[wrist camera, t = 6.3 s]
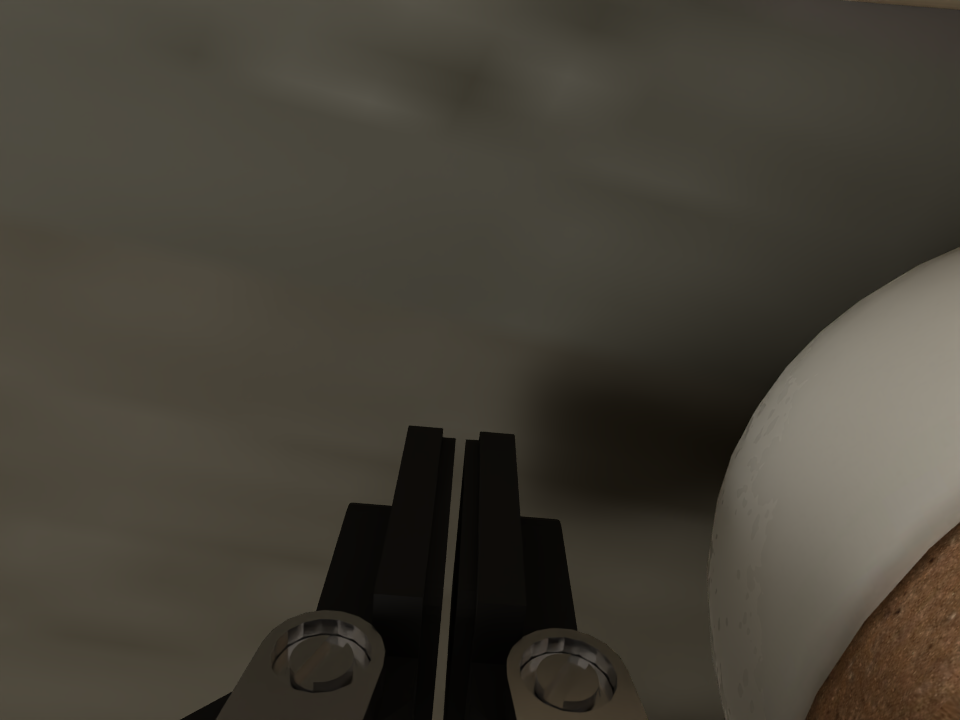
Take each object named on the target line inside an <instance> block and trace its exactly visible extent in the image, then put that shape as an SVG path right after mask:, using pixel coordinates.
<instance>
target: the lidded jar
mask: <svg viewBox="0 0 960 720" xmlns="http://www.w3.org/2000/svg"><path fill="white" fill-rule="evenodd" d="M707 590H708V613H709V625H710V637H711V648H712V660H713V664H714V669H715V674H716V678H717V683H718V688H719V692H720V697H721V702H722V706H723V711H724V715H725V720H960V247H958V248H956V249H954V250H952V251H949V252H947V253H945V254H943V255H940V256H938V257H936V258H934V259H931V260H929V261H927V262H924V263H922V264H920V265H918V266H916V267H914V268H913V269H911V270H909V271H908V272H906V273H905V274H903V275H901V276H900V277H898V278H896V279H895V280H893V281H891V282H890V283H888V284H886V285H885V286H883V287H881V288H880V289H878V290H876V291H875V292H873V293H871V294H870V295H868V296H866V297H865V298H863V299H862V300H860V301H858V302H857V303H856V304H855V305H853V306H852V307H851V308H850V309H848V310H847V311H846V312H845V313H843V314H842V315H841V316H840V317H838V318H837V319H836V320H835V321H833V322H832V323H831V324H829V325H828V326H827V327H826V328H824V329H823V330H822V331H821V332H820V333H819V334H818V335H817V336H816V337H815V338H814V339H813V340H812V341H811V342H810V343H809V344H808V345H807V346H806V347H805V348H804V349H803V350H802V351H801V352H800V353H799V354H798V355H797V356H796V357H795V358H794V359H793V361H792V362H791V363H790V364H789V365H788V366H787V367H786V368H785V370H784V371H783V372H782V374H781V375H780V376H779V378H778V379H777V381H776V382H775V383H774V385H773V386H772V387H771V389H770V390H769V391H768V393H767V394H766V396H765V397H764V398H763V400H762V401H761V402H760V404H759V406H758V407H757V409H756V410H755V412H754V414H753V416H752V417H751V419H750V421H749V423H748V425H747V427H746V429H745V431H744V433H743V435H742V436H741V438H740V440H739V442H738V444H737V446H736V448H735V450H734V452H733V454H732V456H731V459H730V462H729V465H728V468H727V471H726V474H725V477H724V480H723V483H722V486H721V489H720V492H719V495H718V498H717V505H716V511H715V517H714V524H713V530H712V537H711V544H710V550H709V557H708V563H707Z"/></svg>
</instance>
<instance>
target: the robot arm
mask: <svg viewBox="0 0 960 720" xmlns="http://www.w3.org/2000/svg"><path fill="white" fill-rule="evenodd" d="M455 441H456V439H455V438H444V437H443V428H432V427H420V426H409V427H408V432H407V437H406V441H405V446H404V451H403V456H402V461H401V465H400V470H399V475H398V480H397V485H396V489H395V494H394V499H393V504H392V506H386V505H374V504H362V503H350V504H349V506H348V508H347V511H346V515H345V518H344V521H343V524H342V528H341V531H340V534H339V538H338V541H337V544H336V547H335V551H334V554H333V557H332V561H331V564H330V567H329V570H328V574H327V577H326V580H325V584H324V587H323V590H322V593H321V597H320V600H319V603H318V607H317V610H316V611H314V612H307V613H303V614H301V615H298V616H295V617H292V618H290V619H287V620H286V621H284V622H283V623H281V624H280V625H278V626H277V627H275V628H274V629H273V630H272V631H271V632H270V633H269V634H268V635H267V637H266V638H265V639H264V640H263V641H262V643H261V644H260V646H259V648H258V650H257V651H256V653H255V655H254V656H253V658H252V660H251V661H250V663H249V665H248V666H247V668H246V670H245V671H244V673H243V675H242V676H241V678H240V680H239V681H238V683H237V685H236V686H235V688H234V690H233V691H232V692H231V693H229V694H227V695H225V696H223V697H221V698H220V699H218V700H216V701H214V702H212V703H210V704H209V705H207V706H205V707H203V708H201V709H199V710H197V711H196V712H194V713H192V714H190V715H188V716H186V717H184V718H183V719H181V720H432V712H433V701H434V690H435V679H436V667H437V656H438V645H439V634H440V622H441V611H442V599H443V587H444V575H445V563H446V551H447V539H448V526H449V514H450V502H451V490H452V477H453V465H454V453H455ZM443 720H648V717H647V715H646V712H645V710H644V708H643V705H642V703H641V700H640V698H639V696H638V693H637V691H636V688H635V686H634V684H633V681H632V679H631V676H630V674H629V672H628V669H627V668H626V666H625V665H624V663H623V661H622V660H621V658H620V657H619V655H618V654H616V653H615V652H614V651H613V650H612V649H611V648H610V647H609V646H608V645H607V644H605V643H603V642H602V641H600V640H598V639H596V638H595V637H593V636H591V635H589V634H585V633H582V632H579V631H577V625H576V618H575V612H574V605H573V599H572V592H571V586H570V579H569V573H568V566H567V560H566V554H565V547H564V541H563V534H562V528H561V523H560V521H559V520H557V519H545V518H533V517H521V516H520V505H519V490H518V476H517V462H516V448H515V435H514V434H503V433H491V432H480V437H479V440H467V439H466V445H465V456H464V466H463V477H462V488H461V498H460V509H459V520H458V530H457V541H456V551H455V562H454V573H453V584H452V596H451V611H450V626H449V641H448V656H447V672H446V687H445V702H444V717H443Z"/></svg>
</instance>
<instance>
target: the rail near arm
mask: <svg viewBox="0 0 960 720" xmlns="http://www.w3.org/2000/svg"><path fill="white" fill-rule="evenodd" d="M844 1H856V2H869V3H881V4H894V5H906V6H919V7H931V8H944V9H956V10H960V0H844Z"/></svg>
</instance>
